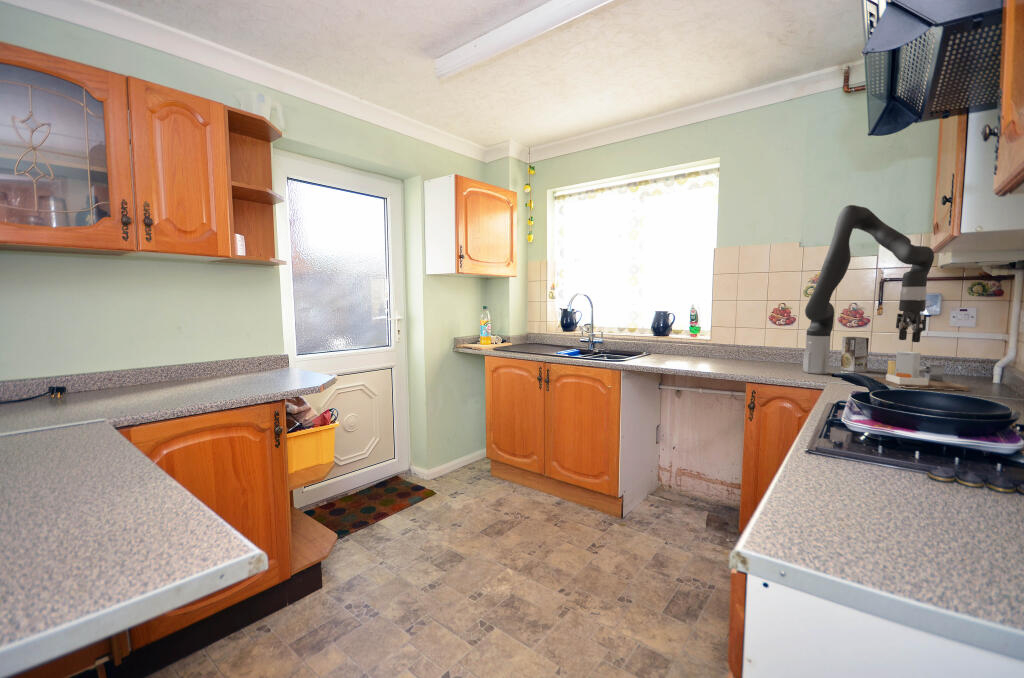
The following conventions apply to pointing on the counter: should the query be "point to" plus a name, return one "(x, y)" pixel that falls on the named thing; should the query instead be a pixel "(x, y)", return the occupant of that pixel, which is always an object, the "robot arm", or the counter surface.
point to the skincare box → (907, 364)
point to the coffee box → (854, 354)
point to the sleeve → (907, 380)
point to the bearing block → (934, 372)
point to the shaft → (893, 364)
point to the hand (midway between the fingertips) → (908, 341)
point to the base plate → (930, 385)
